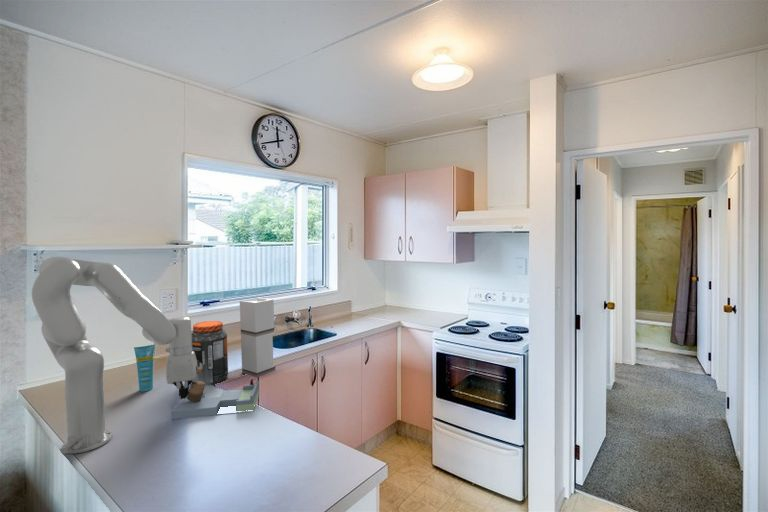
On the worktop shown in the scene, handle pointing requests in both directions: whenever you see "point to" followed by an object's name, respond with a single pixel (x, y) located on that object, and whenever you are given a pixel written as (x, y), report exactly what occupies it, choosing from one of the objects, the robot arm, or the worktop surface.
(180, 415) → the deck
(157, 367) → the worktop surface
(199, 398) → the brown wooden block
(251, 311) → the banded white pillar
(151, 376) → the tube
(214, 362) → the supplement tub
